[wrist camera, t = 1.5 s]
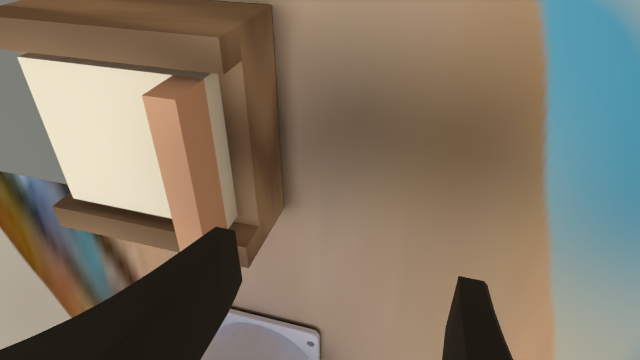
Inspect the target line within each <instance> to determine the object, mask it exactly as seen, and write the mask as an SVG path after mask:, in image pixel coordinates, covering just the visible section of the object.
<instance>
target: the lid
mask: <svg viewBox="0 0 640 360" xmlns="http://www.w3.org/2000/svg"><path fill="white" fill-rule="evenodd" d="M17 58H18V60H19V63H20V65H21V68H22V71H23V73H24V76H25V78H26V81H27V83H28V86H29V88H30V91H31V93H32V96H33V98H34V101H35V103H36V106H37V108H38V111H39V113H40V116H41V118H42V121H43V123H44V126H45V128H46V131H47V134H48V136H49V139H50V141H51V144H52V146H53V149H54V151H55V154H56V156H57V159H58V161H59V164H60V166H61V169H62V171H63V174H64V176H65V179H66V181H67V184H68V186H69V189H70V191H71V194H72V196H73V198H74V199H79V200H83V201H88V202H93V203H98V204H103V205H108V206H113V207H118V208H122V209H127V210H132V211H137V212H142V213H147V214H152V215H157V216H161V217H166V218H171V219H172V220H173V225H174V229H175V233H176V237H177V241H178V245H179V249H180V252H181V251H182V250H183V249H185V248H186V247H188V246H189V245H190V244H192V243H193V242H195V241H196V240H197V239H199V238H200V237H202V236H203V235H204V234H206V233H207V232H209V231H210V230H212V229H213V228H215V227H221V228H226V229H229V227H230V226H231V225H232V223H233V222H234V220H235V219H236V218H237V216H238V215H237V208H236V200H235V193H234V186H233V178H232V171H231V164H230V157H229V149H228V142H227V135H226V127H225V120H224V113H223V106H222V98H221V91H220V84H219V76H218V74H212V73H203V72H195V71H186V70H177V69H168V68H160V67H151V66H142V65H133V64H125V63H116V62H107V61H99V60H90V59H81V58H72V57H64V56H55V55H46V54H38V53H29V52H28V53H25V54H23V55H20V56H18V57H17Z"/></svg>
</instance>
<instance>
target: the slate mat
mask: <svg viewBox="0 0 640 360" xmlns="http://www.w3.org/2000/svg"><path fill="white" fill-rule="evenodd" d="M16 1H20V0H0V6H1V5H5V4H9V3H12V2H16ZM20 55H21V54H20V51H11V50H3V49H0V171H2V172H8V173H13V174H18V175H23V176H28V177H33V178H38V179H43V180H48V181H53V182H58V183H63V184H67V181H66V179H65V176H64V174H63V171H62V169H61V166H60V164H59V161H58V159H57V156H56V154H55V151H54V149H53V146H52V144H51V141H50V139H49V136H48V134H47V131H46V128H45V126H44V123H43V121H42V118H41V116H40V113H39V111H38V108H37V106H36V103H35V101H34V98H33V96H32V93H31V91H30V88H29V86H28V83H27V81H26V78H25V76H24V73H23V71H22V68H21V65H20V63H19V60H18V58H17V57H18V56H20Z"/></svg>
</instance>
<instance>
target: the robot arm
mask: <svg viewBox="0 0 640 360" xmlns="http://www.w3.org/2000/svg"><path fill="white" fill-rule="evenodd" d="M241 283H242V275H241V268H240V261H239V254H238V247H237V240H236V233H235V230H231V229H226V228H221V227H215V228H213V229H212V230H210V231H209V232H207V233H206V234H204V235H203V236H202V237H200V238H199V239H197V240H196V241H195V242H193V243H192V244H190V245H189V246H188V247H186V248H185V249H183V250H182V251H181V252H179V253H178V254H176V255H175V256H174V257H172V258H171V259H169V260H168V261H166V262H165V263H164V264H162V265H161V266H159V267H158V268H156V269H155V270H153V271H152V272H150V273H149V274H147V275H146V276H144V277H143V278H141V279H139V280H138V281H136V282H135V283H133V284H132V285H130V286H128V287H127V288H125V289H124V290H122V291H120V292H119V293H117V294H115V295H114V296H112V297H110V298H109V299H107V300H105V301H103V302H102V303H100V304H98V305H96V306H94V307H92V308H90V309H89V310H87V311H85V312H83V313H81V314H79V315H77V316H75V317H73V318H71V319H69V320H67V321H65V322H63V323H61V324H59V325H56V326H54V327H52V328H50V329H48V330H46V331H43V332H42V333H39V334H37V335H35V336H33V337H31V338H28V339H26V340H23V341H21V342H19V343H16V344H14V345H11V346H9V347H6V348H4V349H1V350H0V360H320V335H319V333H318V332H317V331H315V330H313V329H309V328H305V327H301V326H297V325H293V324H289V323H285V322H281V321H277V320H273V319H269V318H266V317H262V316H258V315H254V314H250V313H246V312H242V311H238V310H234V309H230V308H231V306H232V304H233V301H234V299H235V297H236V295H237V292H238V290H239V287H240V285H241ZM442 360H513V358H512V356H511V353H510V351H509V349H508V346H507V344H506V341H505V339H504V336H503V334H502V331H501V328H500V325H499V322H498V320H497V317H496V314H495V311H494V308H493V304H492V301H491V297H490V294H489V290H488V286H487V284H486V283H485V282H484V281H480V280H475V279H470V278H465V277H461V276H459V277H458V281H457V285H456V289H455V293H454V297H453V301H452V305H451V309H450V313H449V317H448V321H447V325H446V330H445V339H444V348H443V358H442Z"/></svg>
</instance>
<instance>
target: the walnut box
mask: <svg viewBox="0 0 640 360" xmlns="http://www.w3.org/2000/svg"><path fill="white" fill-rule="evenodd" d="M0 49H3V50H11V51H20V54H21V55H23V54H25V53H28V52H29V53H38V54H46V55H55V56H64V57H72V58H81V59H90V60H99V61H107V62H116V63H125V64H133V65H142V66H151V67H160V68H168V69H177V70H186V71H195V72H203V73H212V74H218V76H219V84H220V91H221V98H222V106H223V113H224V120H225V127H226V135H227V142H228V149H229V157H230V164H231V171H232V178H233V186H234V193H235V200H236V208H237V215H238V216H237V218H236V219H235V220H234V222H233V223H232V225H231V226H230V227H229V229H231V230H235V233H236V240H237V247H238V254H239V261H240V266H242V267H247V268H249V267H250V265H251V263H252V261H253V260H254V258H255V256H256V255H257V253H258V251H259V249H260V248H261V246H262V244H263V243H264V241H265V239H266V238H267V236H268V234H269V232H270V231H271V229H272V227H273V226H274V224H275V222H276V221H277V219H278V217H279V215H280V214H281V212H282V210H283V209H284V204H283V187H282V171H281V154H280V137H279V121H278V104H277V88H276V71H275V54H274V38H273V21H272V5H267V4H253V3H239V2H225V1H211V0H20V1H16V2H12V3H9V4H5V5H1V6H0ZM52 207H53V209H54V211H55V214H56V216H57V218H58V220H59V223H60V225H61V226H64V227H69V228H73V229H77V230H82V231H86V232H91V233H95V234H100V235H104V236H109V237H113V238H118V239H122V240H126V241H131V242H135V243H140V244H144V245H149V246H153V247H158V248H162V249H167V250H171V251H175V252H180V249H179V245H178V241H177V237H176V233H175V229H174V225H173V220H172V219H171V218H166V217H161V216H157V215H152V214H147V213H142V212H137V211H132V210H127V209H122V208H118V207H113V206H108V205H103V204H98V203H93V202H88V201H83V200H79V199H74V198H73V196H72V194H71V192H70V193H69V194H68V195H67V196H65V197H64V198H63V199H61V200H60V201H59V202H57V203H56V204H55V205H54V206H52Z"/></svg>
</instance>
